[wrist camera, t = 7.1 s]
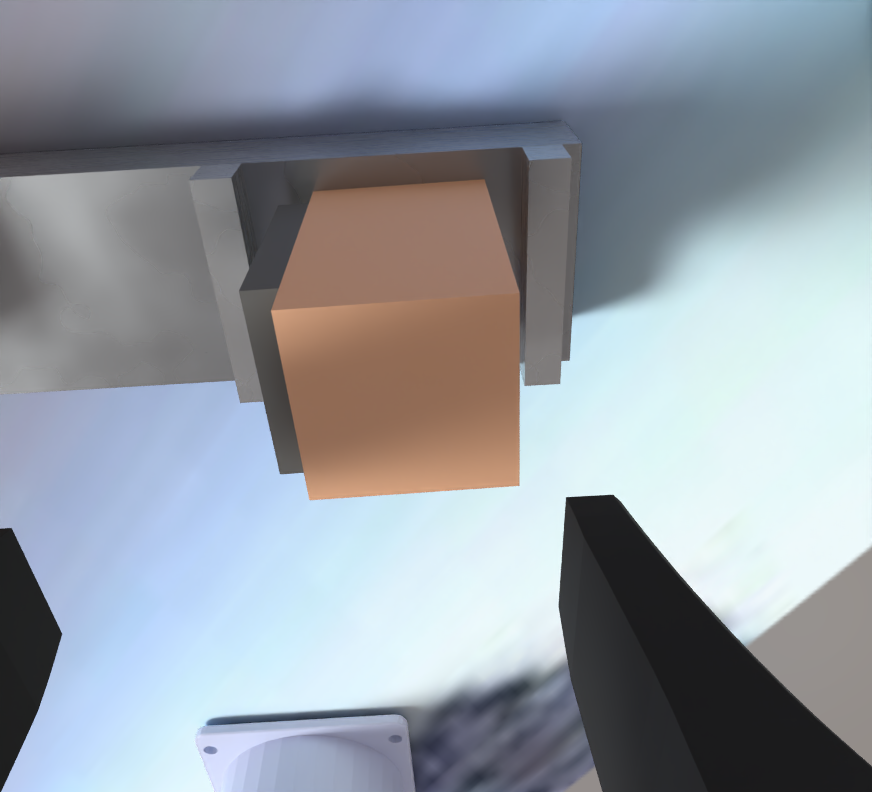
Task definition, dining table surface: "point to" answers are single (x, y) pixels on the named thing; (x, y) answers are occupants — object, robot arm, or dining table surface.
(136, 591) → the dining table surface
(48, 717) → the dining table surface
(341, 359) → the tan block with backing
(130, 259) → the rail
